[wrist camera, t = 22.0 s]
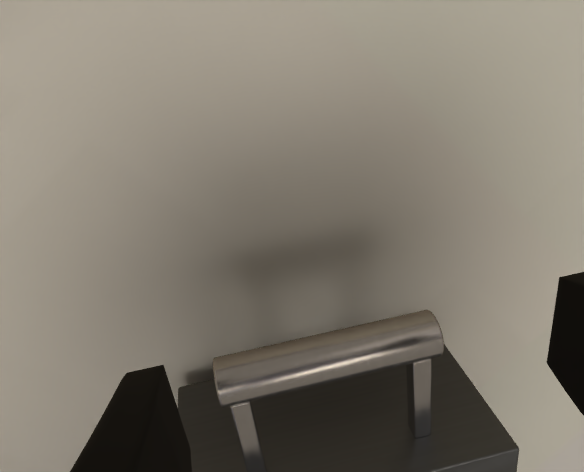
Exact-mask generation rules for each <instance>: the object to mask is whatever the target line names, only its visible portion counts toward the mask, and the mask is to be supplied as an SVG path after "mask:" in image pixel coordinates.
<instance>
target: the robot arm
mask: <svg viewBox="0 0 584 472" xmlns="http://www.w3.org/2000/svg"><path fill="white" fill-rule="evenodd" d="M547 364H548V366H549V367H550V369H551V370H552V372H553V373H554V375H555V376H556V378H557V379H558V381H559V382H560V384H561V385H562V387H563V388H564V390H565V391H566V392H567V394H568V395H569V397H570V398H571V399H572V401H573V402H574V403H575V405H576V406H577V408H578V409H579V410H580V412H581V413H582V414H583V415H584V272H582V273H577V274H572V275H568V276H563V277H559V284H558V291H557V297H556V304H555V311H554V318H553V324H552V331H551V338H550V345H549V351H548V358H547ZM70 472H192V464H191V449H190V445H189V442H188V439H187V436H186V433H185V430H184V427H183V424H182V421H181V418H180V415H179V412H178V408H177V405H176V402H175V399H174V396H173V393H172V390H171V387H170V384H169V381H168V378H167V375H166V372H165V368H164V365H160V366H156V367H151V368H147V369H142V370H138V371H133V372H129V373H126V375H125V376H124V377H123V379H122V380H121V382H120V384H119V386H118V388H117V389H116V391H115V393H114V395H113V397H112V399H111V401H110V402H109V404H108V406H107V408H106V410H105V412H104V413H103V415H102V417H101V419H100V421H99V422H98V424H97V426H96V428H95V430H94V431H93V433H92V435H91V437H90V438H89V440H88V442H87V444H86V446H85V447H84V449H83V451H82V452H81V454H80V456H79V457H78V459H77V461H76V462H75V464H74V466H73V468H72V469H71V471H70Z"/></svg>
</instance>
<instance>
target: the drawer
mask: <svg viewBox="0 0 584 472" xmlns="http://www.w3.org/2000/svg"><path fill="white" fill-rule="evenodd" d="M213 373H214V380H209V381H205V382H201V383H196V384H192V385H188V386H183V387H180V388H179V389H178V412H179V415H180V418H181V421H182V424H183V427H184V430H185V433H186V436H187V439H188V442H189V445H190V449H191V464H192V472H516V471H517V462H518V454H519V448H518V446H517V445H516V443H515V442H514V441H513V439H512V438H511V436H510V435H509V434H508V432H507V431H506V429H505V428H504V427H503V425H502V424H501V422H500V421H499V420H498V418H497V417H496V416H495V414H494V413H493V411H492V410H491V409H490V407H489V406H488V404H487V403H486V402H485V400H484V399H483V397H482V396H481V395H480V393H479V392H478V390H477V389H476V388H475V386H474V385H473V383H472V382H471V381H470V379H469V378H468V377H467V375H466V374H465V372H464V371H463V370H462V368H461V367H460V365H459V364H458V363H457V361H456V360H455V358H454V357H453V356H452V354H451V353H450V351H449V350H448V349H447V347H446V346H445V345H444V341H443V335H442V332H441V328H440V326H439V323H438V321H437V319H436V317H435V316H434V314H433V313H432V312H431V311H429V310H423V311H419V312H414V313H410V314H405V315H401V316H396V317H392V318H388V319H383V320H379V321H374V322H370V323H365V324H361V325H357V326H352V327H348V328H343V329H339V330H335V331H330V332H326V333H321V334H317V335H312V336H308V337H304V338H299V339H295V340H290V341H286V342H281V343H277V344H273V345H268V346H264V347H259V348H255V349H251V350H246V351H242V352H237V353H233V354H228V355H224V356H220V357H215V358H214V359H213Z"/></svg>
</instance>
